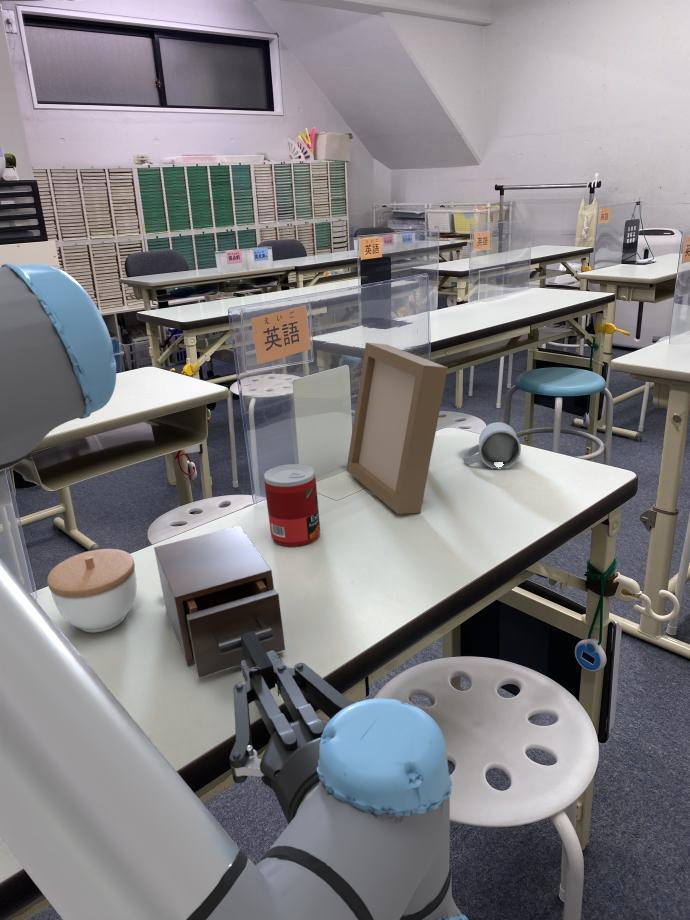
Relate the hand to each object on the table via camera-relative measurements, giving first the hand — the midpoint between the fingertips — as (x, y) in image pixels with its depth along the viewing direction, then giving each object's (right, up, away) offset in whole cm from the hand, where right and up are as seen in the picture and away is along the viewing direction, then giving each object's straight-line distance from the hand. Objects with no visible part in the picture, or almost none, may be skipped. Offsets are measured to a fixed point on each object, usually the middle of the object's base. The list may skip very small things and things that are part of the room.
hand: (248, 643), depth 74 cm
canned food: (+2, +7, +36) cm, 37 cm away
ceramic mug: (+39, +19, +59) cm, 73 cm away
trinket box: (-22, -2, +18) cm, 28 cm away
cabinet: (-6, -1, +15) cm, 16 cm away
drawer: (-3, -3, +9) cm, 10 cm away
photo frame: (+22, +15, +51) cm, 58 cm away
